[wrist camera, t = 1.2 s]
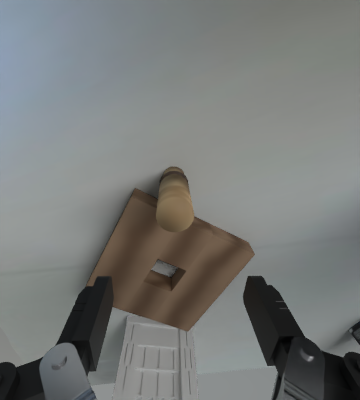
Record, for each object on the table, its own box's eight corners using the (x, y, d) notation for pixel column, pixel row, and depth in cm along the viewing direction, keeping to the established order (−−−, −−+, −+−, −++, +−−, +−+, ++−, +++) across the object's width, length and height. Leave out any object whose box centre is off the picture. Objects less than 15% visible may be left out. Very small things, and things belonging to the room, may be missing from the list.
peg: (191, 172, 29) (201, 209, 19) (178, 193, 31) (182, 238, 21) (168, 159, 28) (166, 191, 18) (156, 182, 30) (148, 223, 20)
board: (248, 242, 35) (254, 254, 32) (186, 316, 42) (188, 331, 39) (135, 188, 30) (131, 196, 27) (87, 282, 37) (80, 296, 34)
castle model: (192, 321, 43) (202, 419, 30) (178, 364, 49) (180, 461, 36) (127, 315, 41) (107, 414, 28) (120, 360, 47) (101, 459, 34)
